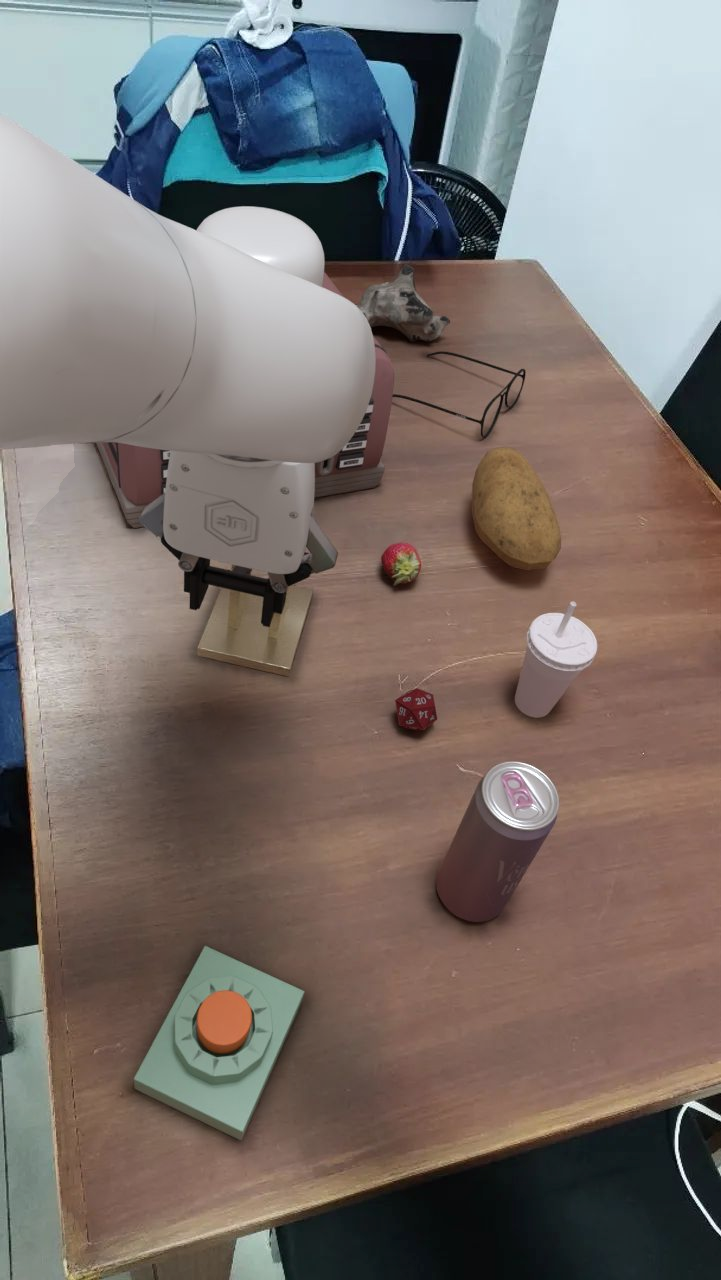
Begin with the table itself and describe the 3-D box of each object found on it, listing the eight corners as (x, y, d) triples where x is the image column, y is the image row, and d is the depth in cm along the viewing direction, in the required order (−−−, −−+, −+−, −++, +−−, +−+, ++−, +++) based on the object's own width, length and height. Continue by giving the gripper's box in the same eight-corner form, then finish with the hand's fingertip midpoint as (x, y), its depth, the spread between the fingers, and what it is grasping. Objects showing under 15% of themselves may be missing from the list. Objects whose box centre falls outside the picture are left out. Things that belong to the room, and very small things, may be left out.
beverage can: (488, 851, 78) (540, 751, 67) (517, 915, 74) (576, 822, 63) (424, 866, 76) (466, 766, 65) (450, 933, 72) (500, 840, 61)
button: (235, 1063, 60) (236, 1054, 59) (186, 1040, 61) (187, 1031, 59) (259, 1012, 63) (260, 1003, 61) (212, 990, 63) (212, 981, 62)
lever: (263, 606, 70) (268, 578, 69) (200, 591, 70) (204, 563, 69) (294, 540, 83) (298, 516, 82) (241, 528, 83) (244, 503, 82)
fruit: (411, 555, 101) (420, 522, 97) (421, 595, 97) (430, 561, 93) (373, 555, 100) (381, 521, 96) (382, 594, 96) (390, 560, 93)
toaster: (138, 559, 94) (132, 420, 82) (61, 363, 115) (46, 228, 102) (398, 512, 106) (428, 383, 93) (285, 341, 126) (297, 216, 113)
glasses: (479, 445, 117) (485, 410, 113) (377, 410, 122) (380, 376, 118) (522, 397, 126) (528, 363, 122) (426, 366, 131) (429, 333, 127)
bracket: (289, 676, 87) (305, 565, 76) (197, 655, 87) (200, 541, 76) (312, 597, 94) (330, 485, 84) (227, 578, 94) (234, 463, 84)
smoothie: (499, 673, 91) (540, 574, 81) (560, 681, 92) (609, 583, 82) (503, 725, 87) (547, 627, 77) (568, 732, 88) (620, 636, 77)
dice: (400, 745, 84) (408, 719, 81) (386, 706, 86) (393, 680, 84) (438, 739, 85) (448, 713, 82) (423, 701, 88) (431, 675, 85)
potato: (483, 593, 99) (507, 529, 92) (450, 499, 109) (468, 435, 102) (557, 592, 101) (585, 529, 94) (517, 499, 111) (540, 436, 104)
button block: (241, 1141, 60) (244, 1125, 58) (134, 1088, 62) (132, 1070, 59) (301, 1001, 67) (307, 981, 64) (204, 957, 68) (205, 934, 65)
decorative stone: (338, 342, 126) (350, 267, 121) (331, 323, 134) (342, 251, 128) (449, 356, 130) (465, 283, 124) (436, 336, 137) (451, 267, 131)
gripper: (98, 417, 57) (113, 615, 70) (366, 479, 57) (329, 665, 70) (138, 355, 62) (145, 551, 75) (384, 412, 62) (347, 597, 75)
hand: (234, 604), depth 72 cm, fingers closed on lever, 5 cm apart
